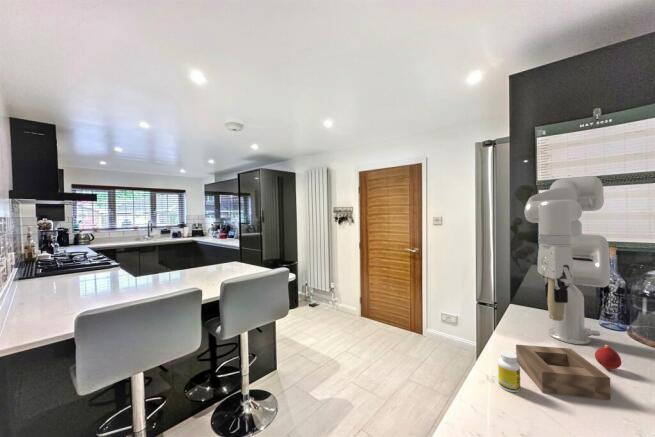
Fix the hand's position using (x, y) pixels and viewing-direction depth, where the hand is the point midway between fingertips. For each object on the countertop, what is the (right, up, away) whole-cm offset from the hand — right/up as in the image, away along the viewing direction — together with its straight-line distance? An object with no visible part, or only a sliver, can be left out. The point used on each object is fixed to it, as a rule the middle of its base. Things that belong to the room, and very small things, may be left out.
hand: (556, 299), depth 81 cm
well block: (+1, -25, 0) cm, 25 cm away
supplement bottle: (-16, -25, -3) cm, 30 cm away
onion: (+20, -24, +4) cm, 32 cm away
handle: (0, -6, 0) cm, 6 cm away
